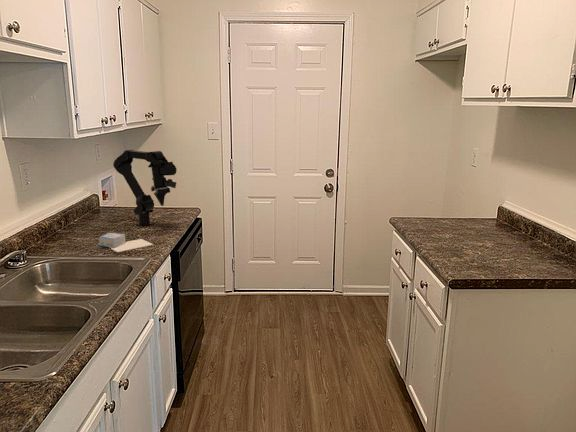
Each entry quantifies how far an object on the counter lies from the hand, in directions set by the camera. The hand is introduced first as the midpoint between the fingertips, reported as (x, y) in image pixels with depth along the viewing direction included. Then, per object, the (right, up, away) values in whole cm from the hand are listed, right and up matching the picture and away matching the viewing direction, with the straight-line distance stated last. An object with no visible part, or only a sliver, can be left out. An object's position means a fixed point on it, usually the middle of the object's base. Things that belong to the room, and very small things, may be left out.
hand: (162, 205), depth 242 cm
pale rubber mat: (-7, -19, -29) cm, 35 cm away
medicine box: (-14, -15, -25) cm, 32 cm away
